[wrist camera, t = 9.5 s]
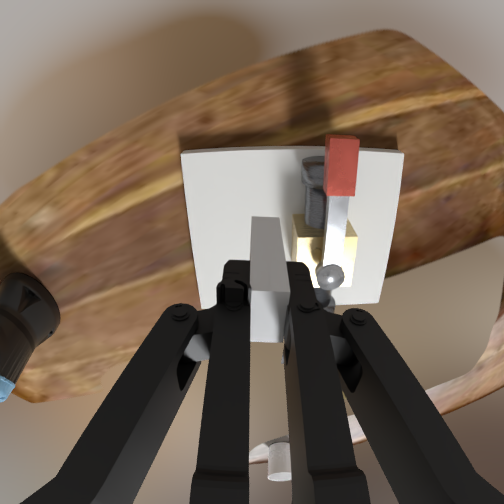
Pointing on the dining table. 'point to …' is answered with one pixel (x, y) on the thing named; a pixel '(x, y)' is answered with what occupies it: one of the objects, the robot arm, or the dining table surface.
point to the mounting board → (284, 209)
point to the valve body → (318, 230)
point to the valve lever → (336, 205)
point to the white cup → (279, 462)
